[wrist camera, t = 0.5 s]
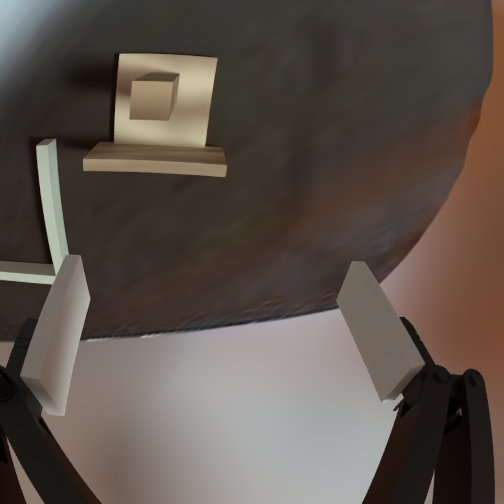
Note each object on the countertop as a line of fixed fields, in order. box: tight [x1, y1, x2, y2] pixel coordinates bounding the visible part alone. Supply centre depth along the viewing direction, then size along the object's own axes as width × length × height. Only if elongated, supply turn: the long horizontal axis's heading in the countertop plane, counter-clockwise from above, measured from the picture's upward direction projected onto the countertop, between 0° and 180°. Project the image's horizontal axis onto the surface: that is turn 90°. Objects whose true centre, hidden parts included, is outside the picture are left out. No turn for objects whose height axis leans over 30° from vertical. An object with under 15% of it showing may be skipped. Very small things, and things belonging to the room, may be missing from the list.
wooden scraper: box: [83, 54, 227, 177], centre depth 26 cm, size 11×14×11 cm
